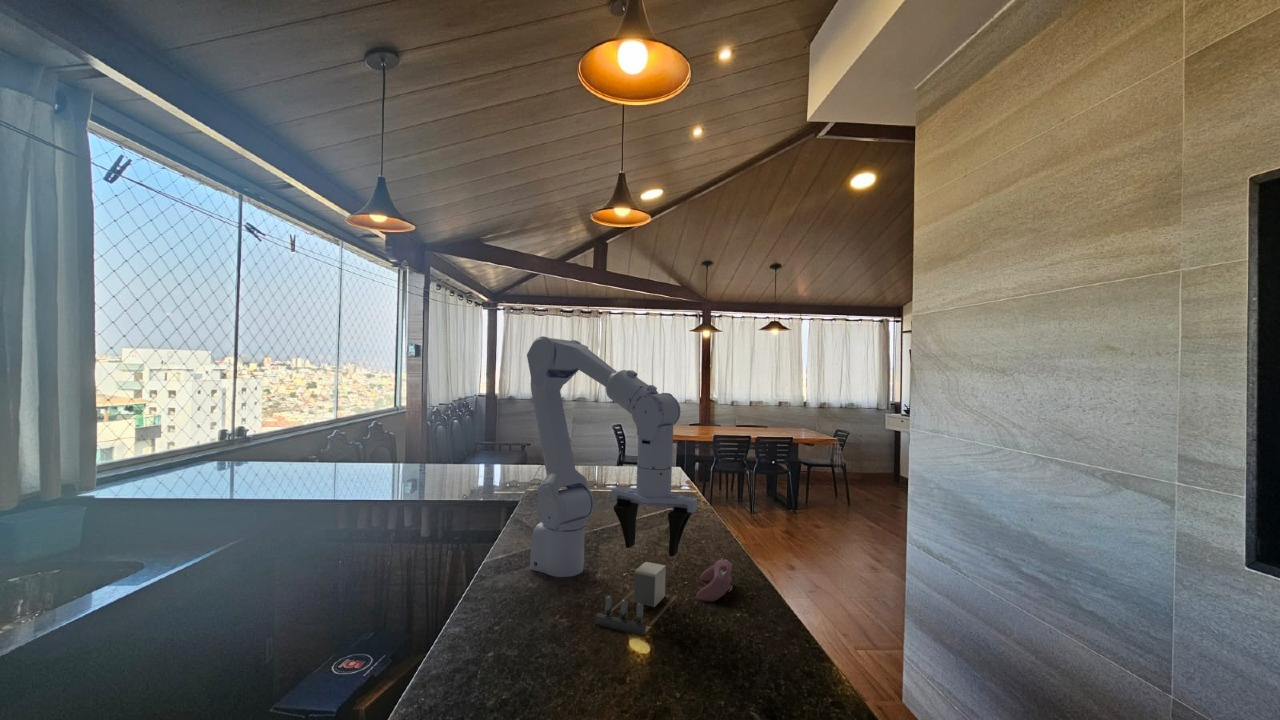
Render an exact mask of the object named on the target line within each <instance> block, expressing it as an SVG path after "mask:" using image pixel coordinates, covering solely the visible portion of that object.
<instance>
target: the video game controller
mask: <svg viewBox="0 0 1280 720" xmlns="http://www.w3.org/2000/svg"><path fill="white" fill-rule="evenodd" d="M733 565H734V564H733V563H732V562H731V561H730V560H728V559H723V558H722V557H721V558H720V559H719V560H717V561H716V562H714V564H713V565H712V566H710V567H709V568H707V569H705V570H704V571H703V572H701V574H700V576H699V580H700V581H704V582H709V583H708V584H707V585H705V586H704V587H702V588H701V589H700V590H698V592H696V594H695V599H696V600H699V601H703V602H715V601H718V600H719V599H720V598H722V597H723V596H725V594H726V593H727V592H728V593H730V592H731V591H732V590H733V584H731V583H732V579H733V577H732V571H733Z"/></svg>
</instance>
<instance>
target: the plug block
mask: <svg viewBox="0 0 1280 720" xmlns="http://www.w3.org/2000/svg"><path fill="white" fill-rule="evenodd" d="M666 567H667V565H664V564H659V563H655V562H648V561H645V562H644V563H642V564H641V565H640V566H638V568H636V569H635V570H634V584H633V586H634V588H633V590H634V593H633V603H636V604H637V603H639V602H641V603H643V604H644V605H645V606H647V607H648V606H649V607H653V608H655V607H656V606H657V605H658V604H659V603H660V602H661V601H662V600H663V599H664V597H665V596H666V569H667V568H666Z"/></svg>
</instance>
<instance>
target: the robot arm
mask: <svg viewBox="0 0 1280 720" xmlns="http://www.w3.org/2000/svg"><path fill="white" fill-rule="evenodd" d="M526 359H527V364H528V368H529V374H530V375H529V376H530V391H531V396H532V403H533V408H534V413H535V419H536V425H537V430H538V435H539V439H540V440H539V441H540V446H541V447H540V448H541V451H542V456H543V457H542V458H543V461H544V467H545V474H546V476H545V478H544V479H543V480H542V481H541V483H539V485H538V487H537V497H538V500H537V508H536V509H537V515H538V517H539V520H540V522H539V523H538V524H536V526H535V527H534V529H533V531H532V535H531V539H530V555H529V556H530V557H529V558H530V559H529V570H532V571H535V572H539V573H543V574H546V575H549V576H552V577H557V578H567V577H574V576H578V575H580V574H581V573H583V571H584V564H585V563H584V560H585V559H584V558H585V538H586V537H585V536H586V535H585V534H586V532H585V531H586V524H588V518H589V517H591V515H592V514H593V512H594V509H595V498H594V495H593V493H592V490H590V488H589V485H588V482H587V478H586V477H585V476H584V475H583V474H582V473H580V472H579V471H578V470H577V469H576V466H575V459H574V455H573V450H572V446H571V441H570V435H569V430H568V425H567V419H566V414H565V408H564V404H563V400H562V399H563V398H562V394H561V390H562V388H563V387H564V385H566V384H567V383H568V382H569V381H570V380H571V379H572V378H573V377H574V375H575V374H577V373H578V372H580V373H581V372H582V373H583V374H585V375H586V376H588V377H590V378H591V379H592V380H594V381H596V382H597V383H599V384H600V385H602V386H604V387H605V393H606V395H607V397H608V399H610V400H611V401H613V402H615V403H616V404H617V405H618V406H620V407H621V408H622V409H623V410H625V412H626V411H627V412H628V413H629V414H630V415H631V418H632V420H633V423H634V424H635V426H636V436H637V438H638V440H637V461H636V462H637V465H636V488H628V487H627V488H625V487H619V486H618V487H617V486H616V487H615V488H614V487H613V488H612V489H611V492H610V493H611V496H610V497H611V498H610V501H612V502H616V504H615V505H613V511H614V513H615V516H616V518H618V520H619V524H620V527H621V529H622V534H623V537H624V538H623V539H624V543H625V544H624V546H625V548H626V549H631V548H632V547H633V546H635V543H636V525H637V523H636V522H637V517H638V516H637V515H638V509H639V504H640V505H645V506H652V507H660V508H666V509H672V510H671V511H670V512H668V513H667V519H668V526H669V530H668V531H669V540H668V541H669V542H668V556H670V557H675V556H676V555H677V554H678V551H679V546H680V542H681V538H682V536H683V533H684V530H685V528H686V525H687V523H688V521H689V519H690V517H691V516H692V514H693V513H695V512H697V510H698V498H697V497H692V496H686V495H684V494H683V495H682V494H679V493H674V492H672V468H673V445H674V444H673V443H674V442H673V441H674V425H676V423H678V421H679V419H680V417H681V406H680V403H679V402H678V400H677V398H675V397H674V396H673V394H671V393H670V392H661V393H659V392H658V390H657V389H658V387H656V386H655V385H654V384H647V383H646V382H645V381H643V380H642V379H640V378H638V377H637V376H638V372H636V371H635V370H631V369H628V370H626V369H622V370H619V371H617V370H616V369H614V368H613V367H612V366H610V365H609V364H608V363H606V361H604V360H603V359H601V357H599V356H598V355H597V354H595V353H594V352H593V351H592V350H590V349H589V347H588V346H587V345H585V344H582V343H581V342H580V341H578V340H576V339H575V340H573V339H572V340H570V339H569V340H568V339H559V338H551V337H548V336H543V335H542V336H538V337H537V338H535V339H534V341H533V342H532V344H531V346H530V348H529V350H528V352H527V354H526ZM561 488H563V489H561ZM564 488H565V489H564Z"/></svg>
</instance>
